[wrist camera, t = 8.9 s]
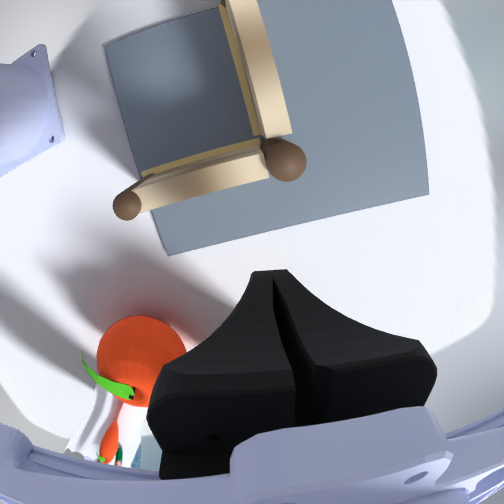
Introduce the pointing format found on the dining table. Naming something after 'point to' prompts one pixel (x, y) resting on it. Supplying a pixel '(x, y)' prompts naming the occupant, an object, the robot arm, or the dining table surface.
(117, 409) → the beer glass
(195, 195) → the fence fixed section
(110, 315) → the dining table surface
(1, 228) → the dining table surface
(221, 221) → the card
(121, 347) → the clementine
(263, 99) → the panel
